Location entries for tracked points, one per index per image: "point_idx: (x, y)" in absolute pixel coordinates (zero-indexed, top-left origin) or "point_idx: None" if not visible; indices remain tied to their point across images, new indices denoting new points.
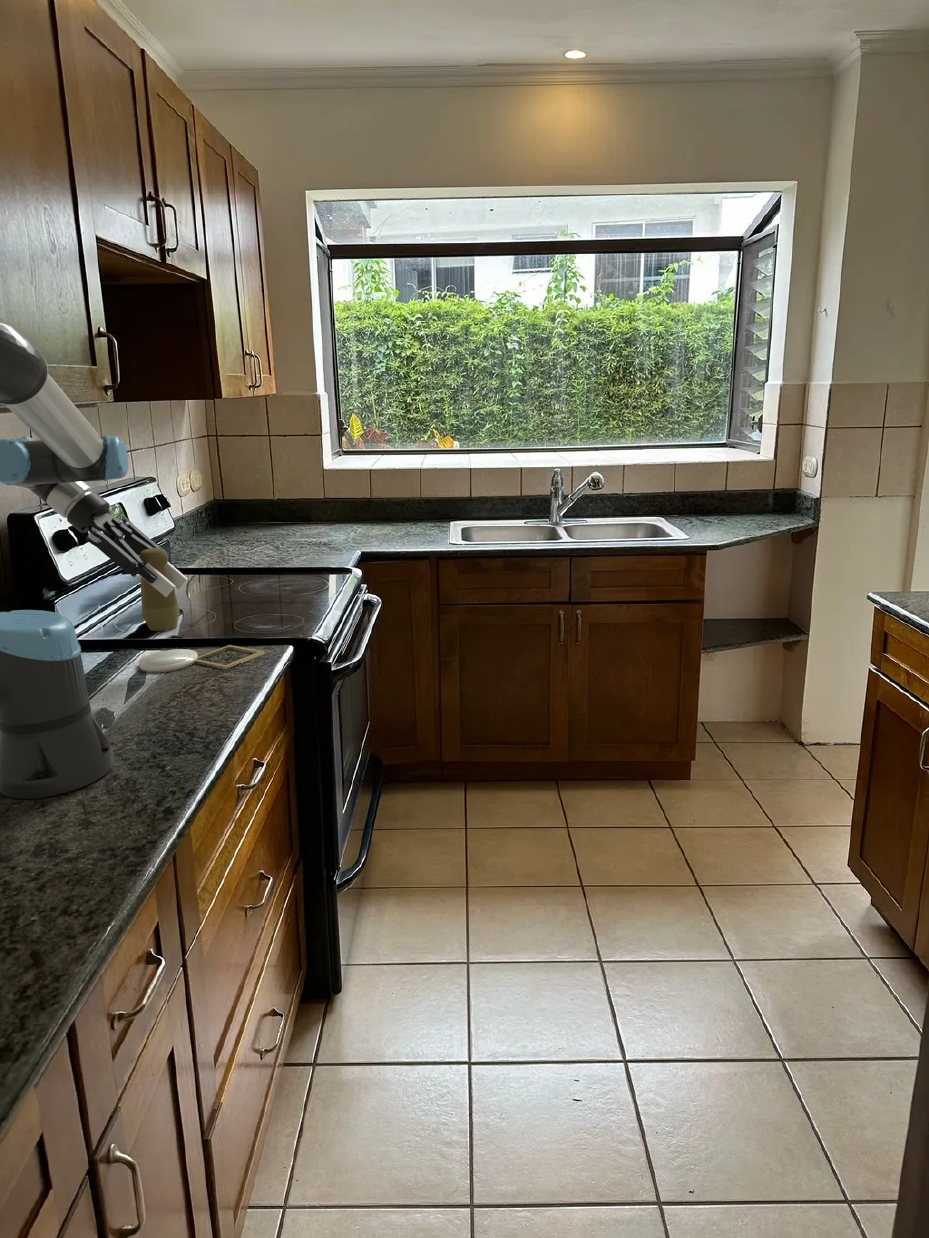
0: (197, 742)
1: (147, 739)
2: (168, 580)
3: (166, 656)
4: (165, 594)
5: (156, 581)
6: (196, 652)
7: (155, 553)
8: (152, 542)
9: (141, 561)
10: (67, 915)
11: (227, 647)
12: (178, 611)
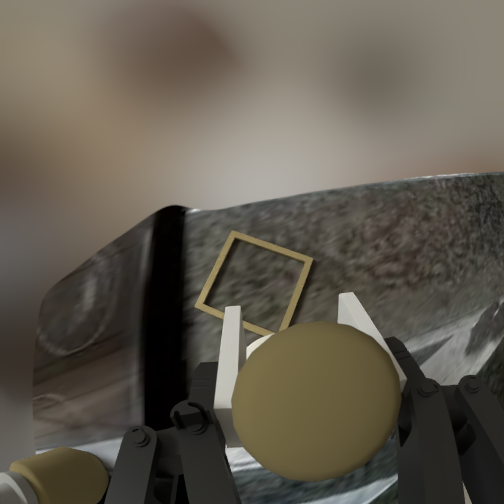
0: (483, 196)
1: (498, 242)
2: (351, 310)
3: None
4: None
5: None
6: (250, 345)
7: (378, 348)
8: (123, 494)
9: (433, 388)
10: None
11: (206, 305)
12: (67, 447)
